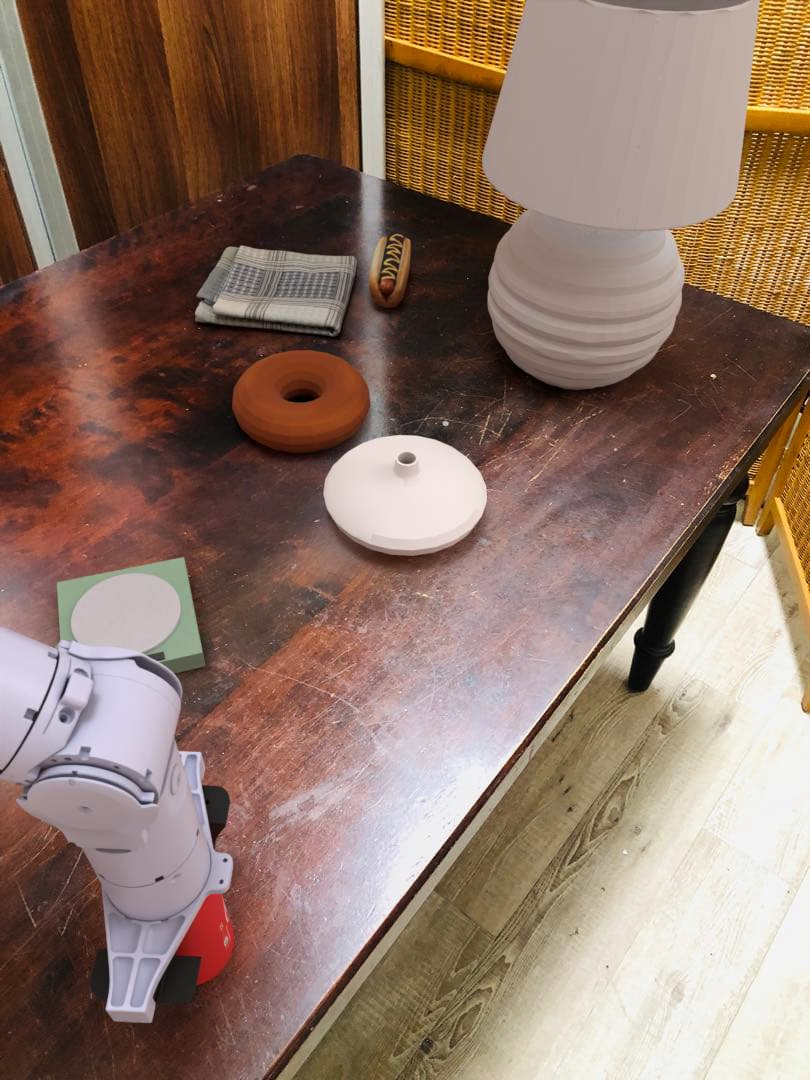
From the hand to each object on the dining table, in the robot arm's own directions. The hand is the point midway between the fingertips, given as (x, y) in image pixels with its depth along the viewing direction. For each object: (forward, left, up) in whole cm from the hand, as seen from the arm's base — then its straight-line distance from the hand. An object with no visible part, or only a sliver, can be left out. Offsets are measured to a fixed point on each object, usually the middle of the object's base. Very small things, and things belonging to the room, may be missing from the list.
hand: (183, 928), depth 55 cm
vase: (+35, +26, -4) cm, 44 cm away
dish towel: (+44, +67, -4) cm, 80 cm away
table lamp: (+66, +36, -4) cm, 75 cm away
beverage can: (0, 0, -4) cm, 4 cm away
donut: (+34, +44, -4) cm, 56 cm away
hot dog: (+57, +61, -4) cm, 84 cm away
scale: (+7, +27, -4) cm, 28 cm away
